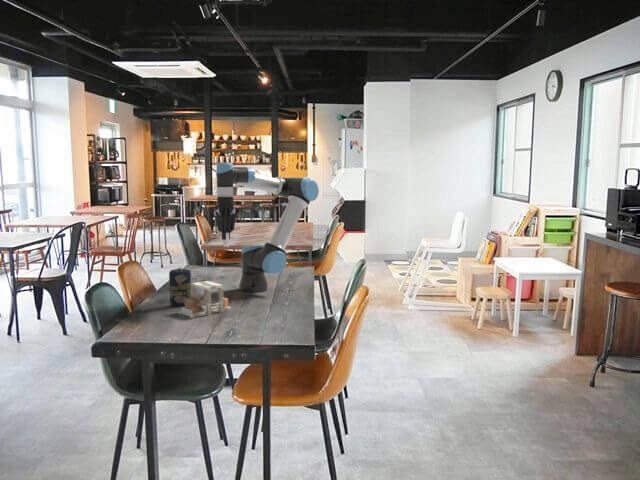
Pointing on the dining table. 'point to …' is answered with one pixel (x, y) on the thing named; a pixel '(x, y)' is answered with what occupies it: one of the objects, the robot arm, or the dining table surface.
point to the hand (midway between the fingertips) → (226, 246)
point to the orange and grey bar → (203, 308)
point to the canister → (179, 286)
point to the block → (193, 304)
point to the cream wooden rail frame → (208, 297)
